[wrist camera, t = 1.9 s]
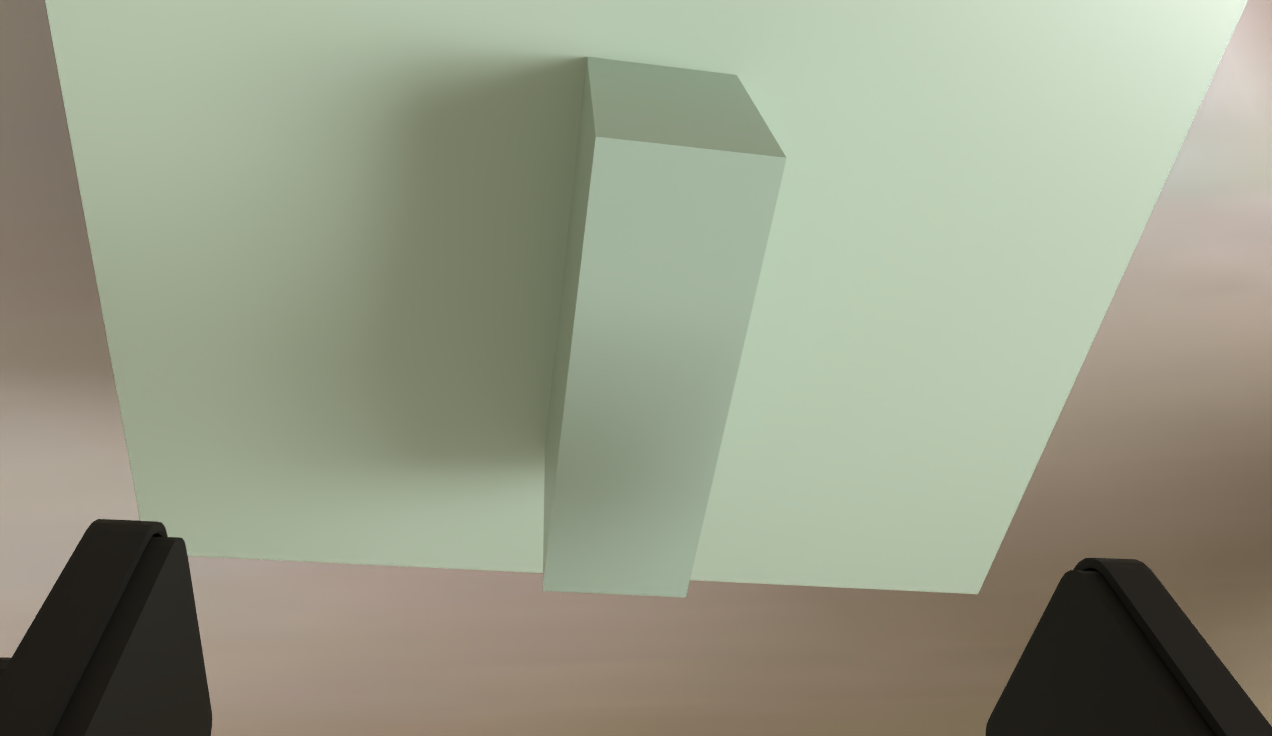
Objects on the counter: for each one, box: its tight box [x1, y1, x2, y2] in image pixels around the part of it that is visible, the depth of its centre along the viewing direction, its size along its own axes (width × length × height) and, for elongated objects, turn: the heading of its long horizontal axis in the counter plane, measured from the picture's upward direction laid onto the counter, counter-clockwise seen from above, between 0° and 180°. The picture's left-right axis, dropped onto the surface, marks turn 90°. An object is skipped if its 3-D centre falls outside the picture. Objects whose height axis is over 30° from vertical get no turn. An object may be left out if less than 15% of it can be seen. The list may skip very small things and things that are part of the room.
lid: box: [45, 0, 1248, 597], centre depth 17 cm, size 19×15×6 cm
